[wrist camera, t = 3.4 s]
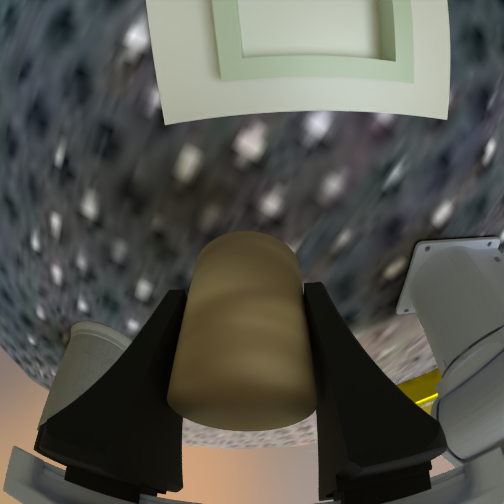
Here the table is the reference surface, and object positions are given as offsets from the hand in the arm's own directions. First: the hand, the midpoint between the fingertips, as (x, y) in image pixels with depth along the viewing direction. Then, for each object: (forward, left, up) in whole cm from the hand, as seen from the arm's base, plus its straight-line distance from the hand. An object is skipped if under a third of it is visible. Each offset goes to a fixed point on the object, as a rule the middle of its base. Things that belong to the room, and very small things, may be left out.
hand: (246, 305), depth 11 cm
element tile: (-26, +34, -10) cm, 44 cm away
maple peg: (0, 0, -2) cm, 2 cm away
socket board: (-4, -12, -9) cm, 15 cm away
